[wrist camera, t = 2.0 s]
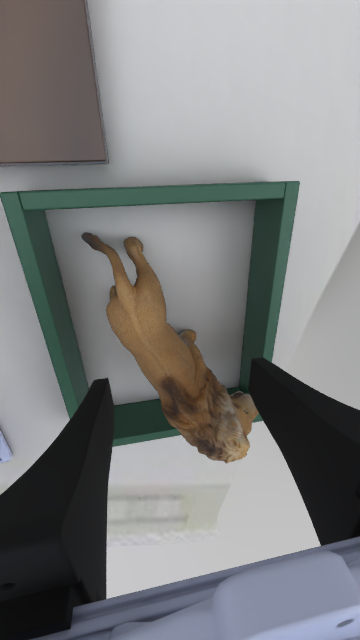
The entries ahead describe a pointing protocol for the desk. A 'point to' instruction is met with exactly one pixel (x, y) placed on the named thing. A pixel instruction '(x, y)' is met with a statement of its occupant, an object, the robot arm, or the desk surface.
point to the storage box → (269, 219)
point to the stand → (49, 85)
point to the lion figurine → (174, 361)
